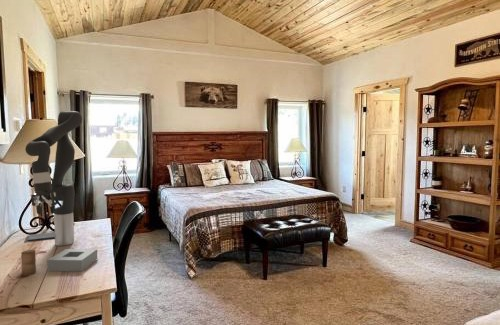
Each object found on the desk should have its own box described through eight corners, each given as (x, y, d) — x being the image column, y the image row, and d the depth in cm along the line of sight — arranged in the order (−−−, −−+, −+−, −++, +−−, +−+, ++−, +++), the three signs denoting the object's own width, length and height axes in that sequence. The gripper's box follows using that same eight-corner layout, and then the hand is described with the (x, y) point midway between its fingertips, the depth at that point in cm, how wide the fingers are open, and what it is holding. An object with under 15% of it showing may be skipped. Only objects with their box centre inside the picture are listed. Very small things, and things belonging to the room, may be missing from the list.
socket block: (66, 259, 158) (66, 248, 158) (97, 259, 159) (97, 249, 158) (47, 271, 143) (47, 259, 143) (81, 271, 144) (81, 260, 143)
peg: (27, 270, 143) (26, 249, 143) (38, 270, 143) (37, 249, 143) (19, 275, 138) (18, 253, 138) (31, 275, 138) (30, 253, 138)
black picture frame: (23, 240, 183) (26, 233, 196) (23, 243, 183) (27, 236, 197) (64, 236, 192) (65, 230, 206) (64, 239, 192) (65, 233, 206)
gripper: (59, 179, 163) (63, 211, 164) (38, 181, 168) (42, 212, 168) (46, 181, 156) (51, 215, 157) (24, 183, 160) (28, 215, 161)
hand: (46, 213), depth 163 cm, fingers open, 8 cm apart
